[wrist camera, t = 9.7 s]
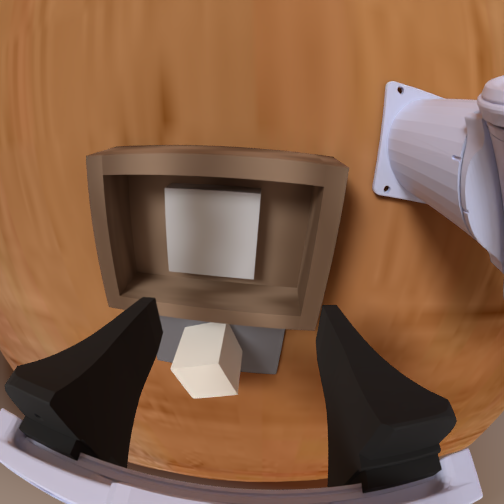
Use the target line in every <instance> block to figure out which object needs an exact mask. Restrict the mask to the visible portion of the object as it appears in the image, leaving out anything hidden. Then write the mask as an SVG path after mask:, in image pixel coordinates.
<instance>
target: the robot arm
mask: <svg viewBox="0 0 504 504" xmlns="http://www.w3.org/2000/svg"><path fill="white" fill-rule="evenodd" d="M398 87H400V88H401V89H402V93H401V94H400V93H399V92H398V90H397V89H398ZM385 186H388V190H387V191H385V192H384V187H385ZM373 191H374V192H375V193H376V194H378V195H382V196H388V197H393V198H399V199H405V200H410V201H415V202H421V203H426V204H428V205H429V206H431V207H432V208H434V209H435V210H437V211H438V212H439V213H441V214H442V215H444V216H445V217H446V218H448V219H449V220H450V221H452V222H453V223H454V224H456V225H457V226H458V227H460V228H461V229H462V230H463V231H465V232H466V233H467V234H468V235H470V236H471V237H472V238H473V239H475V240H476V241H477V242H478V243H479V244H480V245H482V246H483V247H484V248H485V249H486V250H487V251H488V252H489V255H490V261H491V262H492V263H493V264H494V265H495V266H496V267H497V268H498V269H499V270H500V271H501V272H502V273H503V274H504V75H503V76H500V77H497V78H494V79H492V80H490V81H488V82H487V83H486V84H485V86H484V88H483V91H482V93H481V94H480V95H479V96H478V98H477V100H464V99H444V98H442V97H439V96H436V95H434V94H431V93H428V92H425V91H423V90H420V89H417V88H414V87H411V86H408V85H404V84H401V83H398V82H394V81H391V82H388V83H387V84H386V87H385V99H384V109H383V119H382V127H381V135H380V143H379V150H378V156H377V163H376V169H375V175H374V181H373ZM503 298H504V282H503ZM162 335H163V329H162V325H161V321H160V317H159V312H158V308H157V303H156V299H155V298H152V297H142V298H141V299H139V300H138V301H136V302H135V303H134V304H133V305H131V306H130V307H129V308H127V309H126V310H125V311H124V312H122V313H121V314H120V315H119V316H117V317H116V318H115V319H113V320H112V321H111V322H109V323H108V324H107V325H105V326H104V327H102V328H101V329H100V330H98V331H97V332H96V333H94V334H93V335H91V336H89V337H88V338H86V339H84V340H83V341H81V342H79V343H78V344H76V345H74V346H72V347H70V348H68V349H66V350H64V351H61V352H59V353H57V354H55V355H52V356H50V357H47V358H44V359H41V360H38V361H35V362H31V363H28V364H24V365H20V366H17V368H16V369H15V370H14V372H13V373H12V375H11V376H10V378H9V379H8V381H7V382H6V384H5V390H6V392H7V394H8V395H9V397H10V398H11V399H12V401H13V402H14V403H15V404H16V406H17V407H18V408H19V409H20V410H21V412H22V413H23V414H24V415H25V418H24V419H23V420H21V419H20V418H19V417H18V416H16V415H14V414H13V413H11V412H9V411H8V410H6V409H4V408H2V409H1V411H0V462H1V463H2V464H3V465H5V466H6V467H7V468H9V469H10V470H11V471H13V472H14V473H15V474H17V475H18V476H20V477H21V478H23V479H24V480H26V481H27V482H29V483H31V484H32V485H34V486H35V487H37V488H39V489H41V490H42V491H44V492H45V493H47V494H49V495H51V496H53V497H54V498H56V499H58V500H60V501H62V502H64V503H66V504H472V503H474V502H476V501H478V500H479V499H481V498H482V497H483V494H482V490H481V487H480V483H479V479H478V476H477V472H476V469H475V466H474V463H473V460H472V457H471V454H470V451H469V449H468V448H466V449H464V450H461V451H458V452H456V453H453V454H450V455H447V456H445V457H443V458H441V459H440V460H439V457H438V453H440V451H441V448H440V445H439V443H440V442H441V441H442V440H443V439H444V438H445V437H446V436H447V435H448V434H449V433H450V432H451V430H452V429H453V428H454V426H455V424H456V421H457V420H456V417H455V414H454V412H453V409H452V407H451V405H450V402H449V401H448V399H445V398H443V397H441V396H439V395H437V394H435V393H433V392H431V391H429V390H427V389H425V388H423V387H422V386H420V385H418V384H417V383H415V382H413V381H412V380H410V379H409V378H407V377H406V376H404V375H403V374H402V373H400V372H399V371H398V370H396V369H395V368H394V367H392V366H391V365H390V364H389V363H388V362H387V361H385V360H384V359H383V358H382V357H381V356H380V355H379V354H378V353H377V352H376V351H375V350H374V349H373V348H372V347H371V346H370V345H369V344H368V343H367V342H366V341H365V340H364V339H363V337H362V336H361V335H360V334H359V333H358V332H357V330H356V329H355V328H354V327H353V326H352V324H351V323H350V322H349V320H348V319H347V318H346V317H345V315H344V314H343V313H342V311H341V310H340V309H339V308H338V306H337V305H322V310H321V316H320V321H319V327H318V332H317V337H316V350H317V361H318V366H319V371H320V376H321V381H322V386H323V391H324V397H325V402H326V409H327V423H328V487H327V488H315V489H299V490H298V489H297V490H257V489H239V488H226V487H217V486H209V485H201V484H194V483H188V482H183V481H177V480H172V479H167V478H162V477H157V476H153V475H150V474H145V473H142V472H138V471H134V470H131V469H127V462H128V452H129V445H130V438H131V432H132V427H133V422H134V418H135V413H136V409H137V406H138V402H139V398H140V395H141V392H142V389H143V387H144V384H145V382H146V379H147V377H148V375H149V372H150V370H151V367H152V365H153V363H154V360H155V358H156V355H157V353H158V350H159V347H160V343H161V339H162Z"/></svg>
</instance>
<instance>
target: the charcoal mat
mask: <svg viewBox="0 0 504 504" xmlns="http://www.w3.org/2000/svg"><path fill="white" fill-rule="evenodd" d="M159 317H160V321H161V325H162V329H163V335H162V339H161V343H160V347H159V350H158V353H157V358H158V360H161V361H166V362H172V363H173V360H174V357H175V354H176V351H177V349H178V346H179V343H180V340H181V337H182V334H183V332H184V329H185V327H189V326H194V325H200V324H205V323H210V322H204V321H196V320H188V319H181V318H174V317H167V316H160V315H159ZM229 325H230V327H231V329H232V331H233V333H234V335H235V337H236V339H237V341H238V343H239V345H240V347H241V349H242V351H243V352H242V361H241V369H240V372H251V373H264V374H276V372H277V367H278V362H279V357H280V352H281V347H282V342H283V337H284V332H285V329H278V328H265V327H253V326H242V325H232V324H229Z"/></svg>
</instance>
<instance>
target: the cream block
mask: <svg viewBox="0 0 504 504" xmlns="http://www.w3.org/2000/svg"><path fill="white" fill-rule="evenodd" d="M242 352H243V351H242V349H241V347H240V345H239V343H238V341H237V339H236V337H235V335H234V333H233V331H232V329H231V327H230V325H229V324H222V323H213V322H210V323H205V324H200V325H194V326H189V327H185V329H184V332H183V334H182V337H181V340H180V343H179V346H178V349H177V351H176V354H175V357H174V360H173V363H172V366H171V370H172V372H173V373H174V374H175V376H176V377H177V378H178V380H179V381H180V382H181V384H182V385H183V386H184V388H185V389H186V390H187V391H188V393H189V394H190V395H191V396H192V398H207V397H219V396H229V395H238V387H239V378H240V369H241V361H242Z"/></svg>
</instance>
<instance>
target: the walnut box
mask: <svg viewBox="0 0 504 504" xmlns="http://www.w3.org/2000/svg"><path fill="white" fill-rule="evenodd" d="M86 165H87V179H88V190H89V200H90V209H91V217H92V224H93V231H94V237H95V243H96V249H97V254H98V260H99V265H100V270H101V275H102V279H103V284H104V288H105V293H106V297H107V301H108V305H109V307H112V308H118V309H123V310H126V309H127V308H129V307H130V306H131V305H133V304H134V303H135V302H136V301H138V300H139V299H141V298H142V297H152V298H155V299H156V303H157V308H158V312H159V315H160V316H167V317H174V318H181V319H188V320H196V321H204V322H213V323H222V324H232V325H242V326H253V327H265V328H278V329H293V330H311V331H315V328H316V325H317V321H318V317H319V313H320V309H321V305H322V301H323V297H324V293H325V289H326V285H327V281H328V276H329V272H330V268H331V263H332V258H333V254H334V249H335V244H336V239H337V234H338V229H339V224H340V219H341V214H342V208H343V202H344V197H345V191H346V185H347V178H348V172H349V168H348V167H347V166H346V165H344V164H343V163H341V162H340V161H338V160H337V159H335V158H334V157H329V156H322V155H315V154H307V153H298V152H289V151H280V150H269V149H257V148H243V147H225V146H197V145H148V146H121V147H114V148H110V149H107V150H104V151H101V152H97V153H94V154H91V155H88V156H86Z"/></svg>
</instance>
